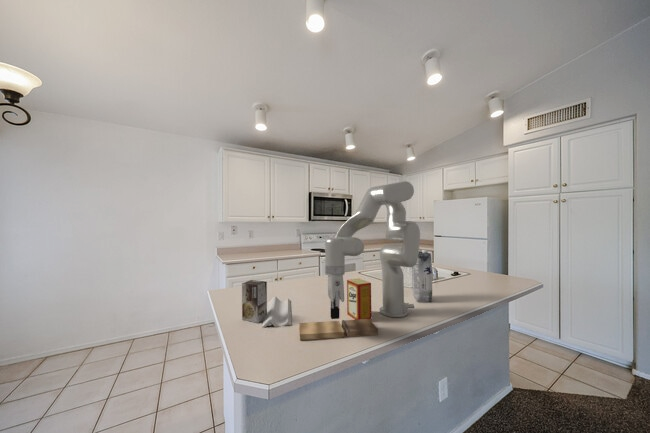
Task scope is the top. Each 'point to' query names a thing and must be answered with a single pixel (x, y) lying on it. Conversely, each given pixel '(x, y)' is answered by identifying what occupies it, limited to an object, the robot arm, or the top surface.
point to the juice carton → (422, 277)
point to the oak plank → (320, 330)
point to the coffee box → (254, 301)
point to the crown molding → (278, 313)
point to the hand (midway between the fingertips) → (334, 317)
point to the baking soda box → (359, 299)
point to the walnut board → (359, 327)
